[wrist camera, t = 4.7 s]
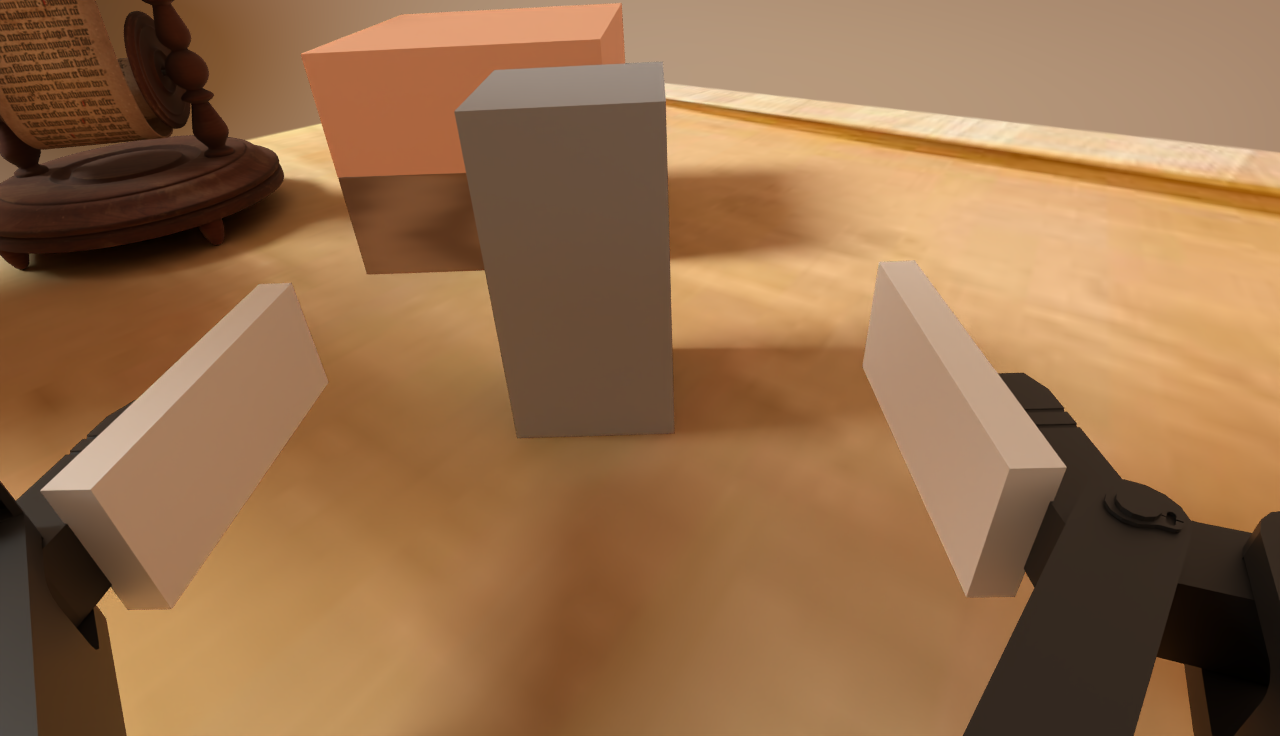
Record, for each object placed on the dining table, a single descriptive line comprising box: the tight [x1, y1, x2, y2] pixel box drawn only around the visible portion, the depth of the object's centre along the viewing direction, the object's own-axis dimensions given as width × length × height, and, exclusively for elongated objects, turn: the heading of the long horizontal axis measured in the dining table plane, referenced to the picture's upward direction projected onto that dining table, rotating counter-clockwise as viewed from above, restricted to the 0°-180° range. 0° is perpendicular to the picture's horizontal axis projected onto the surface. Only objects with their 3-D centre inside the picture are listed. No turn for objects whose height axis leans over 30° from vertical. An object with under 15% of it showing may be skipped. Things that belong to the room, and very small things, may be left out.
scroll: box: [0, 0, 284, 269], centre depth 34 cm, size 15×15×20 cm
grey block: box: [454, 62, 674, 438], centre depth 21 cm, size 5×5×10 cm
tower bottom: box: [338, 173, 485, 274], centre depth 36 cm, size 12×12×5 cm
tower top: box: [301, 3, 625, 178], centre depth 33 cm, size 12×12×5 cm
